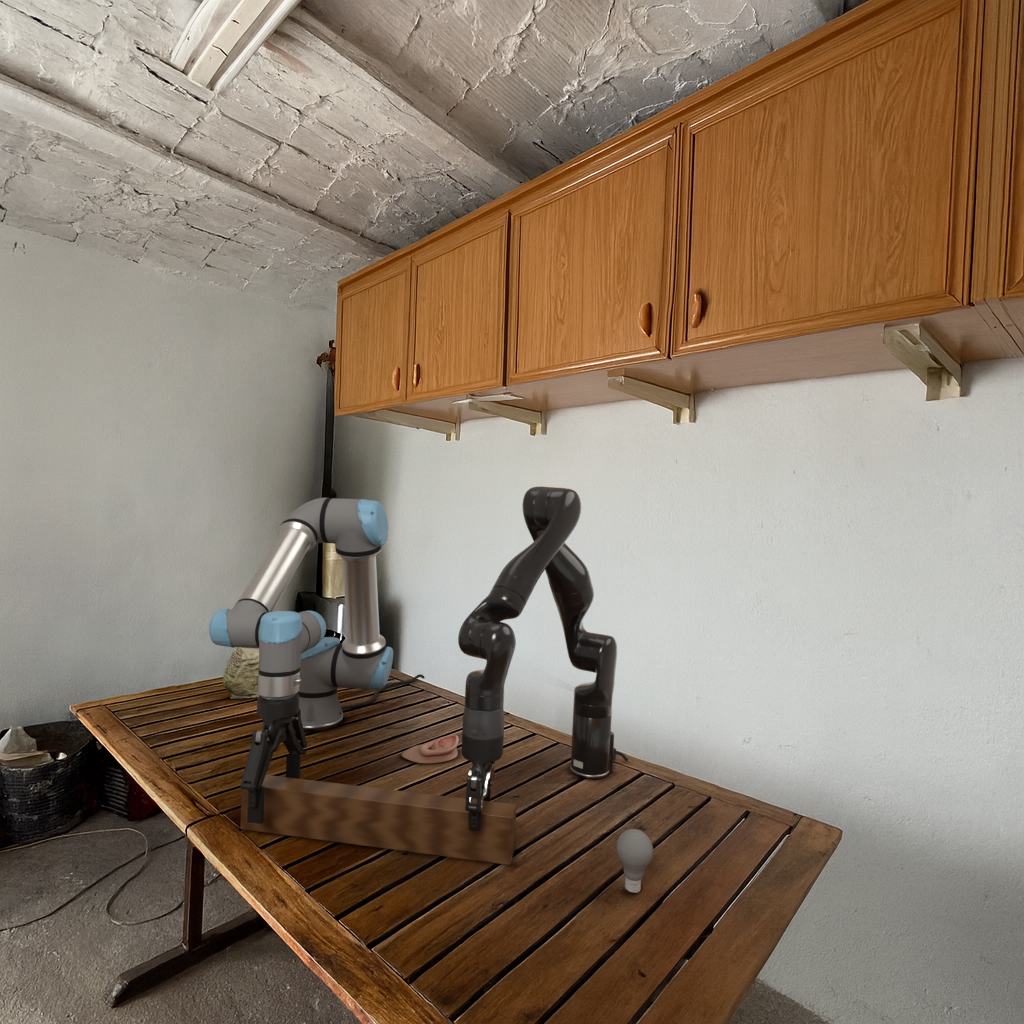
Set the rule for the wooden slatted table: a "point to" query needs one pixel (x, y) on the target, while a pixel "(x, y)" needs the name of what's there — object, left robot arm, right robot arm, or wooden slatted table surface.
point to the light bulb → (634, 857)
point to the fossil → (242, 673)
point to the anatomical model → (434, 750)
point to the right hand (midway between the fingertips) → (479, 818)
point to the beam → (384, 819)
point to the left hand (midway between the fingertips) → (274, 804)
